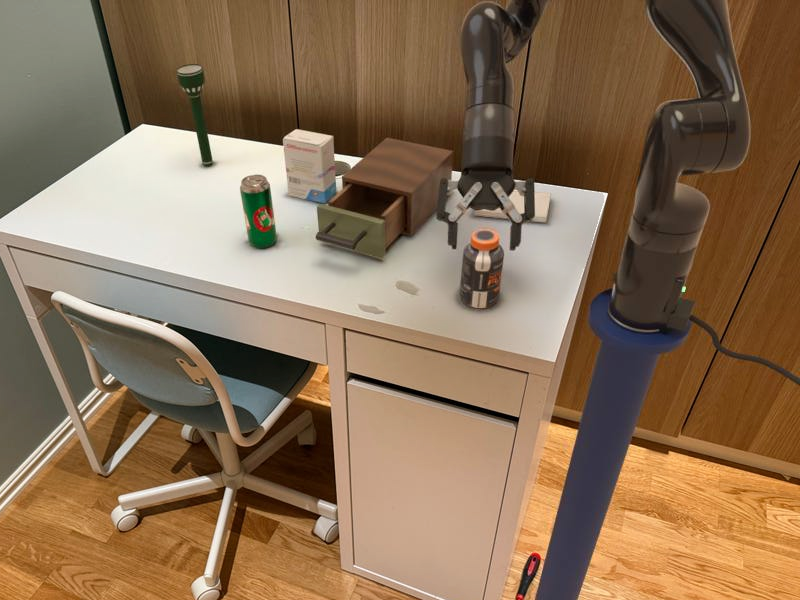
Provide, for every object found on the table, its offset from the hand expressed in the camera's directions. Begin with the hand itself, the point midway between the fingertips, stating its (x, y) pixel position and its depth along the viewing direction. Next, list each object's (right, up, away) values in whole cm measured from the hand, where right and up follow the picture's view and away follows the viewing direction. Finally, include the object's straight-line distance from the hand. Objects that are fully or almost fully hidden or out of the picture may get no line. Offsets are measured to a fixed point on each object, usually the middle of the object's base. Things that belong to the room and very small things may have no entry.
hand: (483, 249), depth 106 cm
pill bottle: (0, -7, +4) cm, 8 cm away
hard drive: (+11, +11, +23) cm, 27 cm away
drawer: (-16, +5, +18) cm, 25 cm away
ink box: (-26, +15, +32) cm, 44 cm away
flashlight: (-48, +25, +44) cm, 70 cm away
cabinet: (-10, +12, +26) cm, 30 cm away
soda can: (-34, +4, +20) cm, 40 cm away
